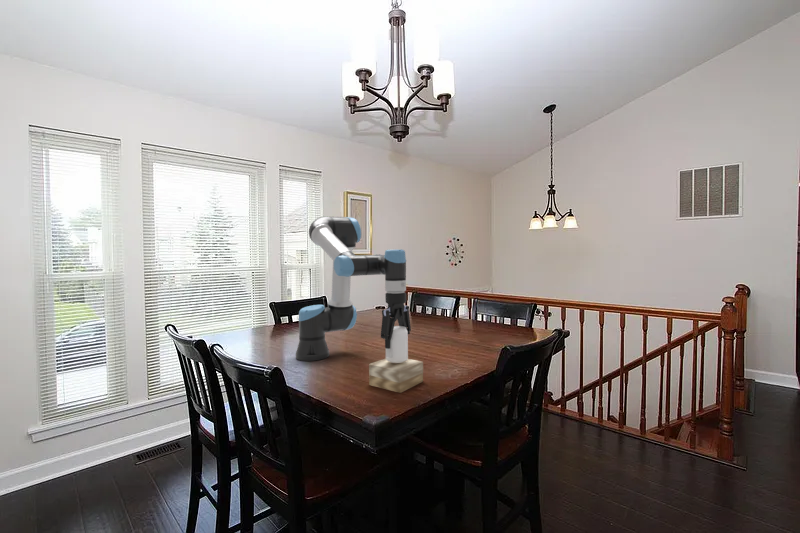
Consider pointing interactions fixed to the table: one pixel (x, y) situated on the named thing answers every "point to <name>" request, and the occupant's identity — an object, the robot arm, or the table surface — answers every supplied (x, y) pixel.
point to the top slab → (396, 370)
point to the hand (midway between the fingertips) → (396, 354)
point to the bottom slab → (395, 383)
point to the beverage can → (399, 345)
